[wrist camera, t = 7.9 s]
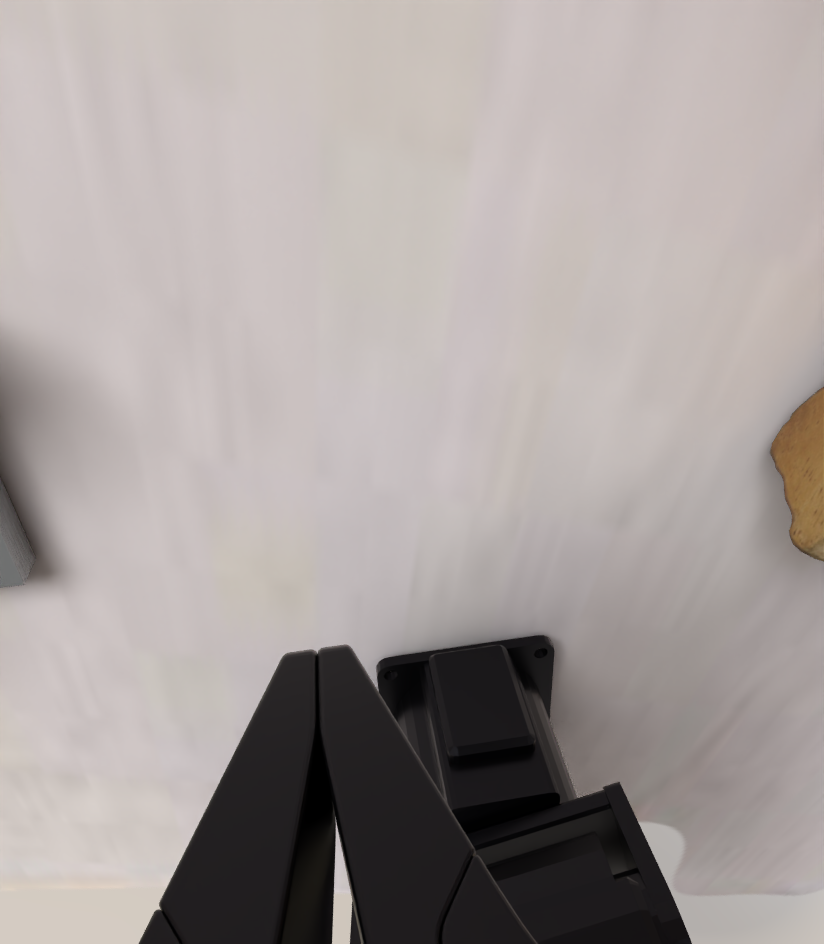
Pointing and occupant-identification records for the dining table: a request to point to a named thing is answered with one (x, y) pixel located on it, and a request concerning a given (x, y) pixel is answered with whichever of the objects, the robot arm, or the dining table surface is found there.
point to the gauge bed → (13, 545)
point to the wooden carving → (804, 473)
